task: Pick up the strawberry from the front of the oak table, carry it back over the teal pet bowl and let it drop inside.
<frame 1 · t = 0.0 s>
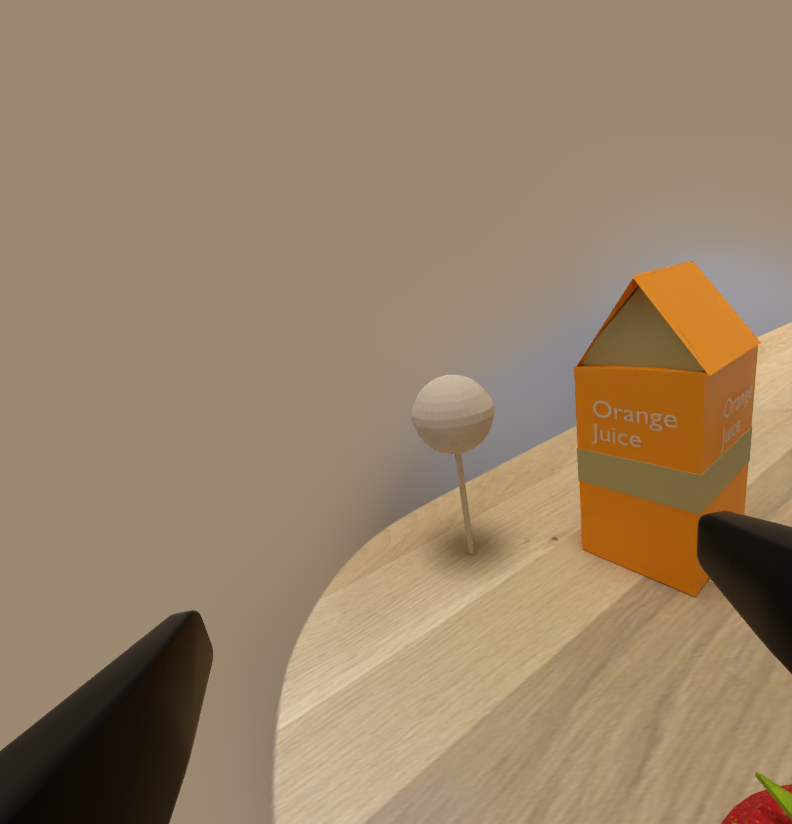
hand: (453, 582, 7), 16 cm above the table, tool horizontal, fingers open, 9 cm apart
orange juice: (661, 544, 31), on the table
lollipop: (471, 554, 34), on the table
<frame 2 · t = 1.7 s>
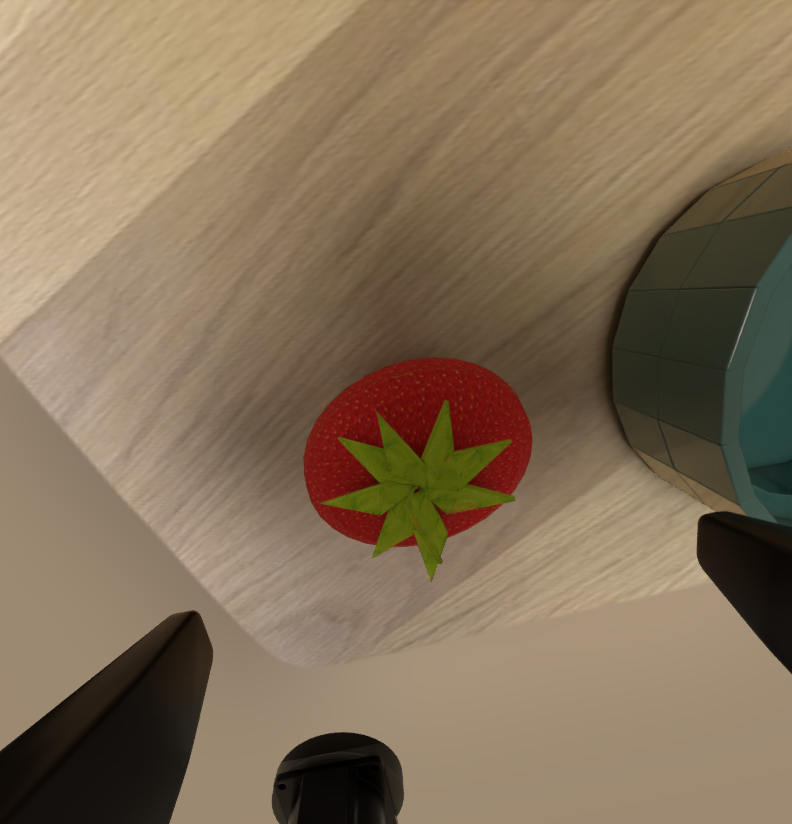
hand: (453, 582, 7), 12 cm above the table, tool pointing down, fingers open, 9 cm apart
teal pet bowl: (764, 343, 19), on the table
strawberry: (402, 407, 19), on the table
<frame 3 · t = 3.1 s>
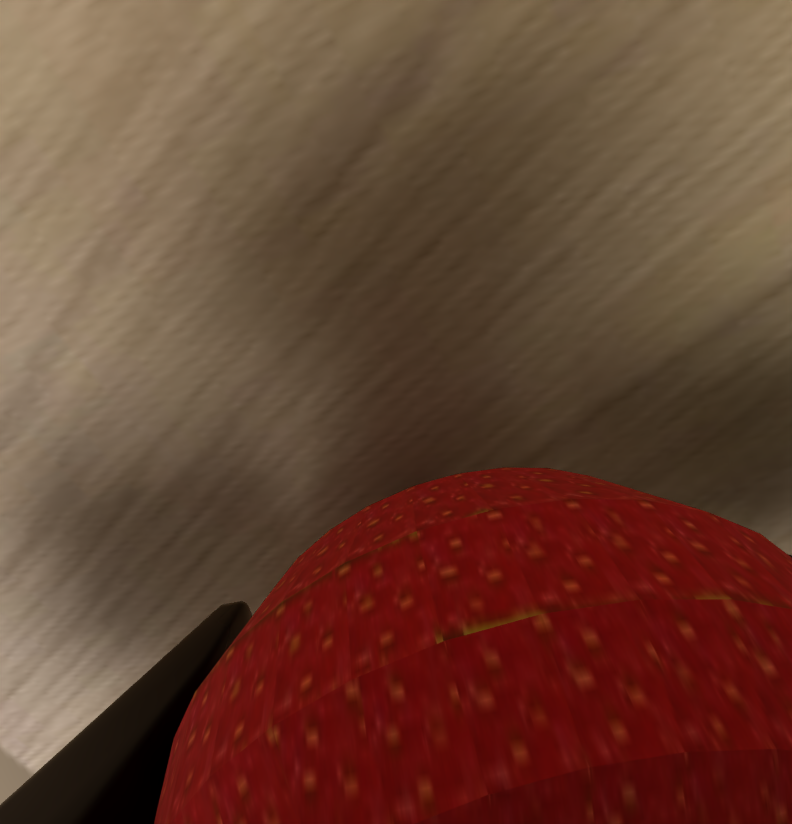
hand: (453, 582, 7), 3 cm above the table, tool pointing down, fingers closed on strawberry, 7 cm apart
strawberry: (431, 505, 10), on the table, touching gripper
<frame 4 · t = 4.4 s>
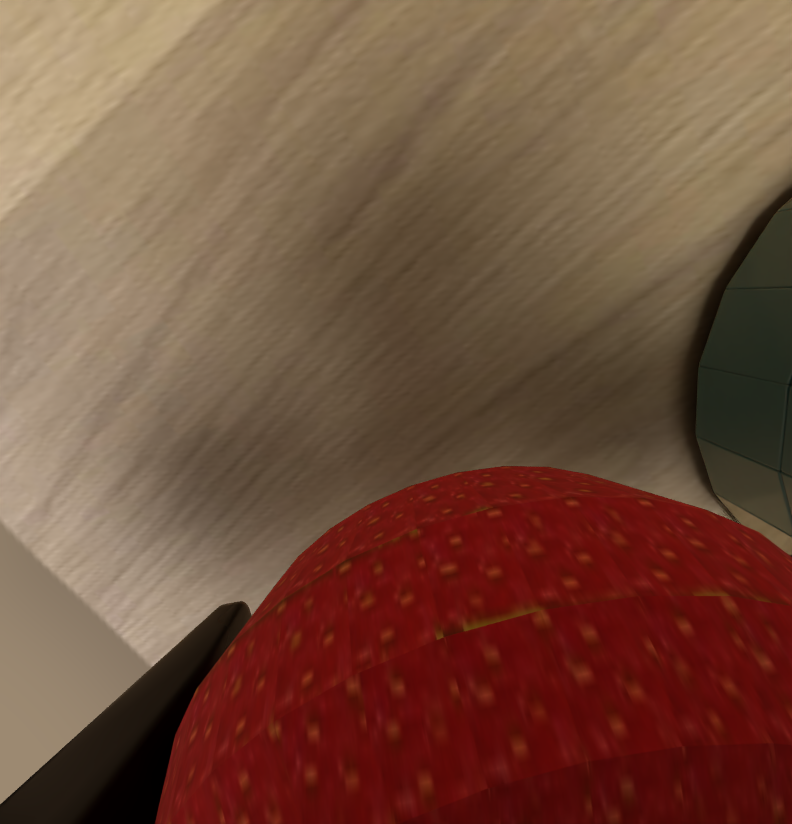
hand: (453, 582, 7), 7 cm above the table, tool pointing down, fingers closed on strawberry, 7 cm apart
strawberry: (431, 505, 10), point 4 cm above the table, touching gripper
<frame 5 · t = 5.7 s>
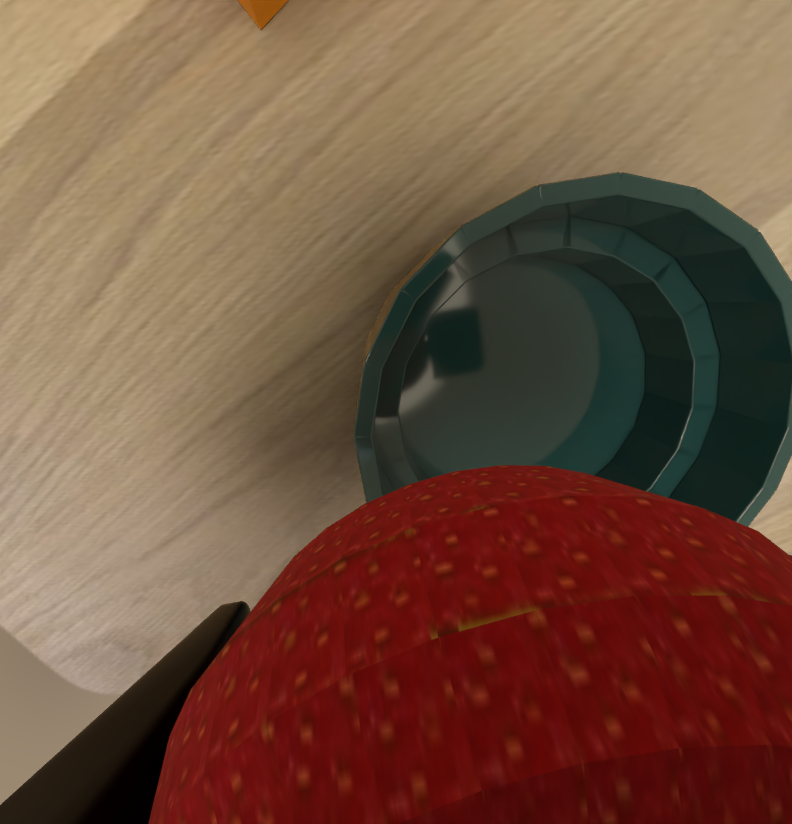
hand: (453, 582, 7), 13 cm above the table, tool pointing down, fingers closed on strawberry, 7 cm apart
teal pet bowl: (517, 390, 20), on the table
strawberry: (429, 504, 10), point 10 cm above the table, touching gripper
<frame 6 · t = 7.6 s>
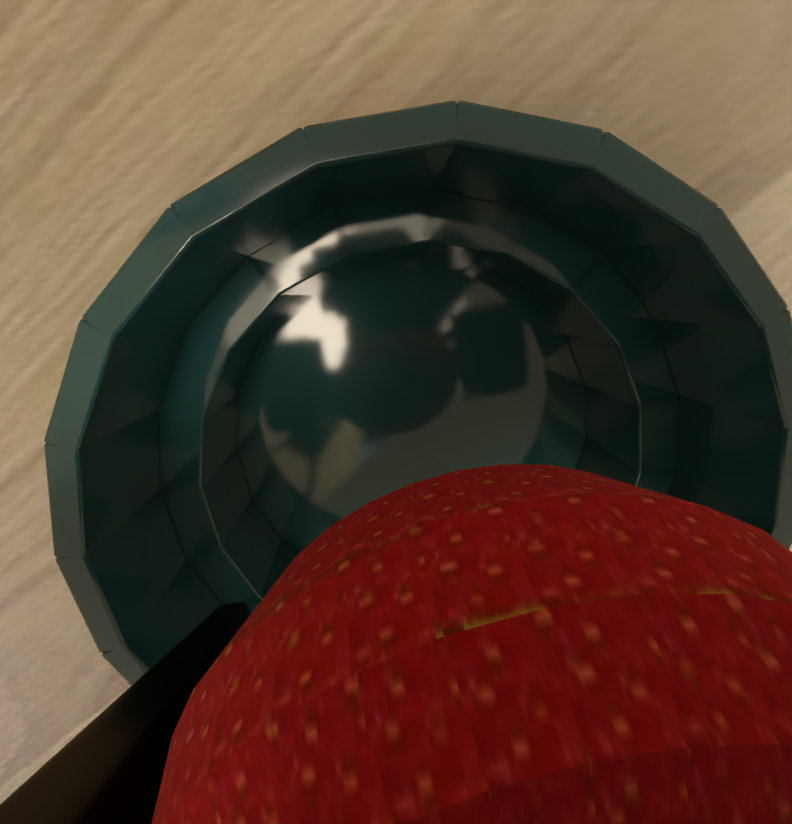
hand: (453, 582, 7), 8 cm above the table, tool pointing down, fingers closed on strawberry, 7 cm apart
teal pet bowl: (413, 435, 15), on the table
strawberry: (431, 504, 10), point 5 cm above the table, touching gripper
when the fingers open (7 cm above the table, at t = 8.3 s): strawberry drops 3 cm, resting on teal pet bowl.
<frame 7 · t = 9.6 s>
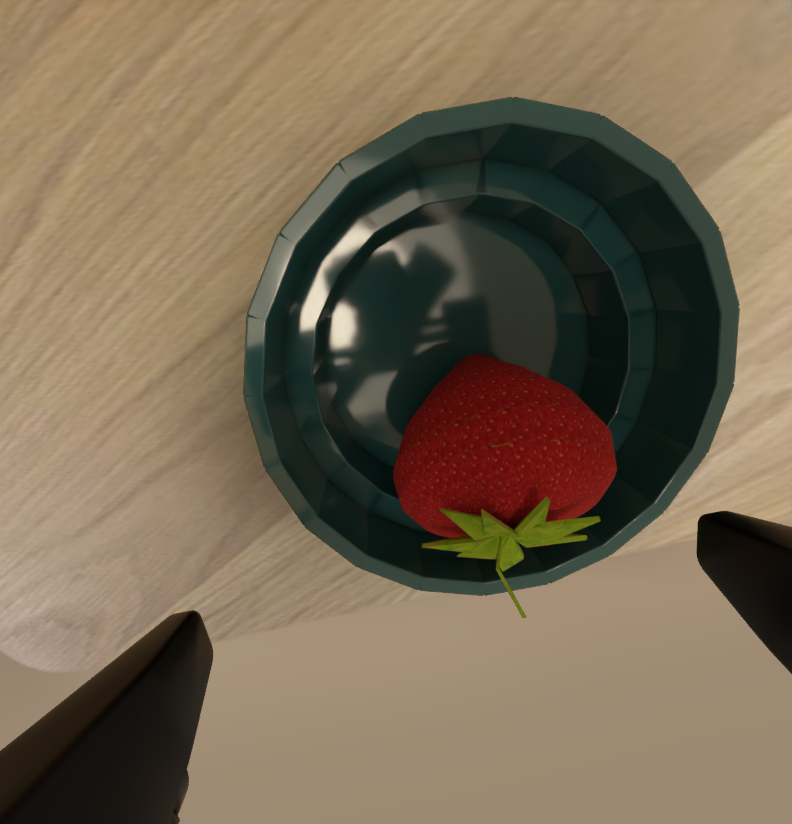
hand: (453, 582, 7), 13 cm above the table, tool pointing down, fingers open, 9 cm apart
teal pet bowl: (455, 357, 19), on the table
strawberry: (473, 358, 18), point 1 cm above the table, touching teal pet bowl
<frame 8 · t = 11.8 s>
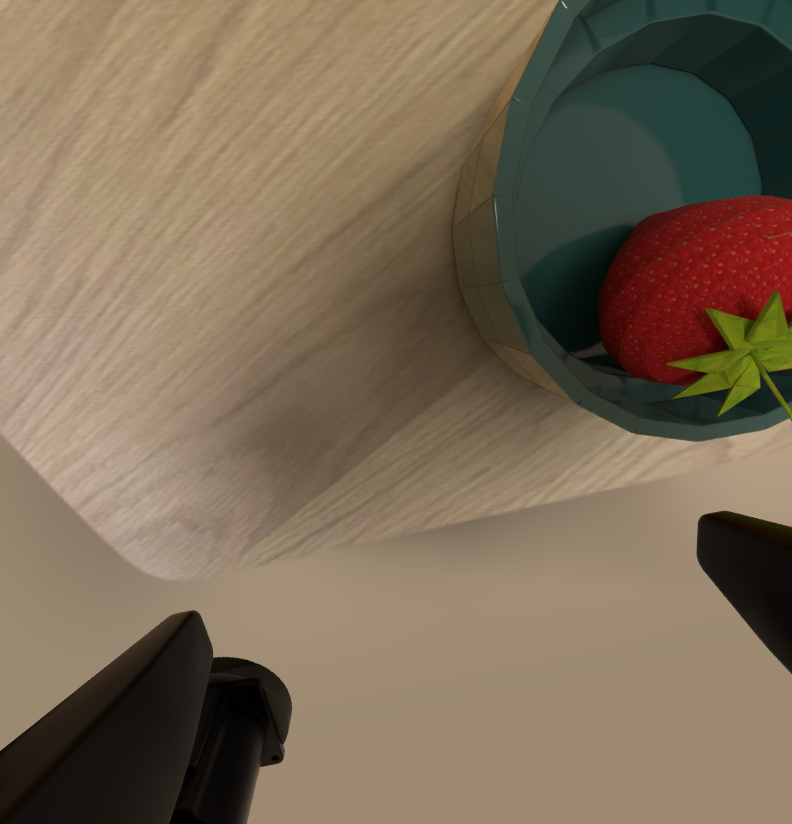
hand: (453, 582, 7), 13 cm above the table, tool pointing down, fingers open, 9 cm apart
teal pet bowl: (618, 231, 18), on the table
strawberry: (646, 224, 17), point 1 cm above the table, touching teal pet bowl
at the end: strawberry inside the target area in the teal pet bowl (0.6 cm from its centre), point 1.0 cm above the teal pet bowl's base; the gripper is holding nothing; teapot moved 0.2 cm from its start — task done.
